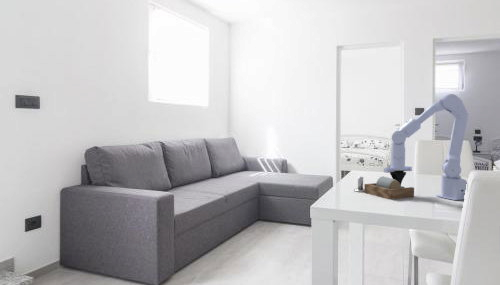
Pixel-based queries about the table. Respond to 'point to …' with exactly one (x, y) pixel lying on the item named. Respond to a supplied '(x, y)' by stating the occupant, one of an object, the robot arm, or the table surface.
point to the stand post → (360, 185)
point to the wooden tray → (388, 191)
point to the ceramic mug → (388, 183)
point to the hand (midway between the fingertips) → (397, 187)
